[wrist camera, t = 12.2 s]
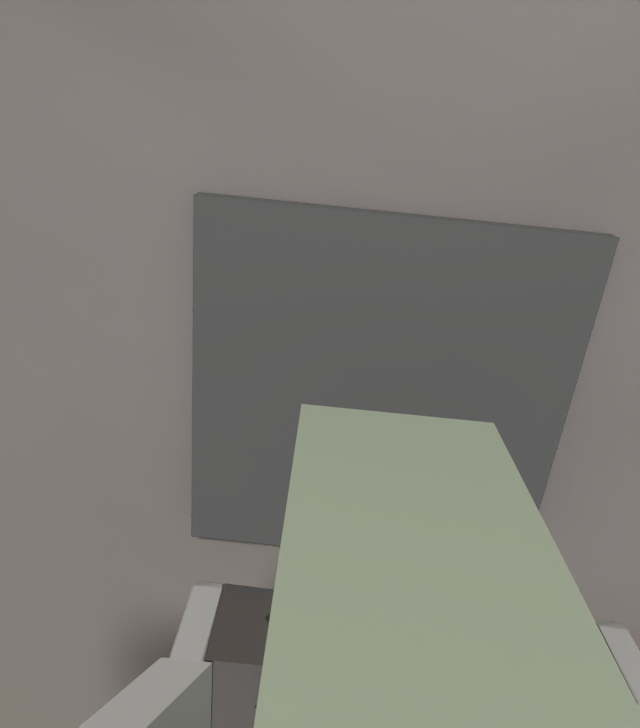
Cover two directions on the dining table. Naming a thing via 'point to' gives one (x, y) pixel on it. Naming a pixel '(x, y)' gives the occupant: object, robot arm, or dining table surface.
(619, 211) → the dining table surface
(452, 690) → the green block
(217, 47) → the dining table surface
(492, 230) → the rubber mat
